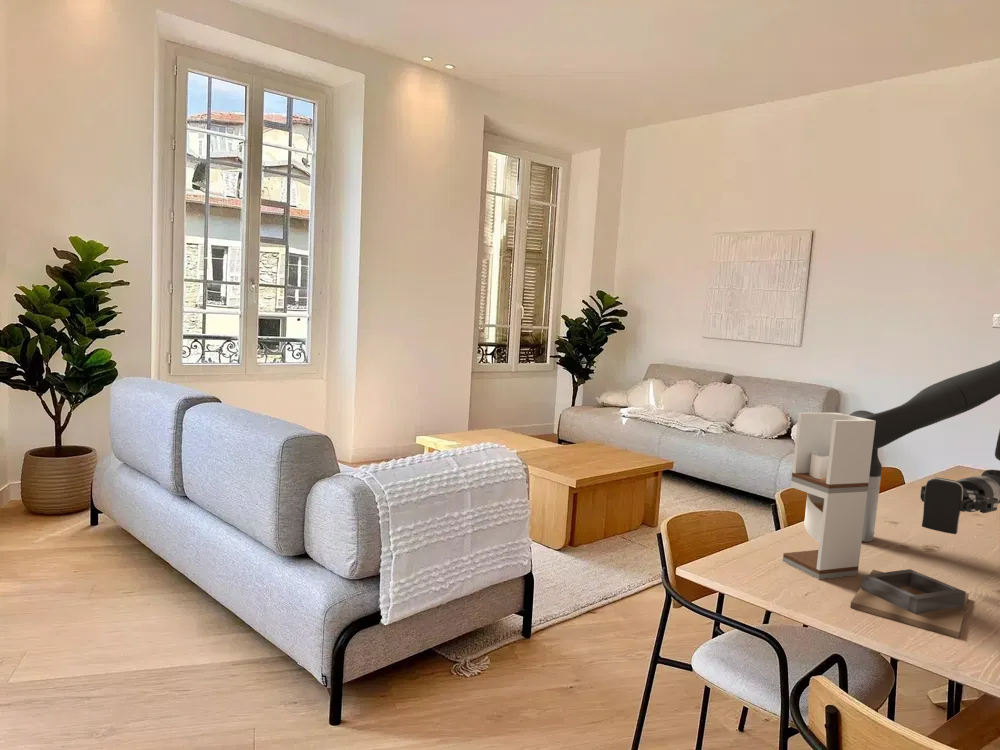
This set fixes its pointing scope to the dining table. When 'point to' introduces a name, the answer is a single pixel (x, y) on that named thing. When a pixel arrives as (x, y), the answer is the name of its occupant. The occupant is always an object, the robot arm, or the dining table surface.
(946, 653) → the dining table surface
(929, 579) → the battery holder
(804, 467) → the white shelf stand
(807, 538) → the dining table surface
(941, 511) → the battery charger
